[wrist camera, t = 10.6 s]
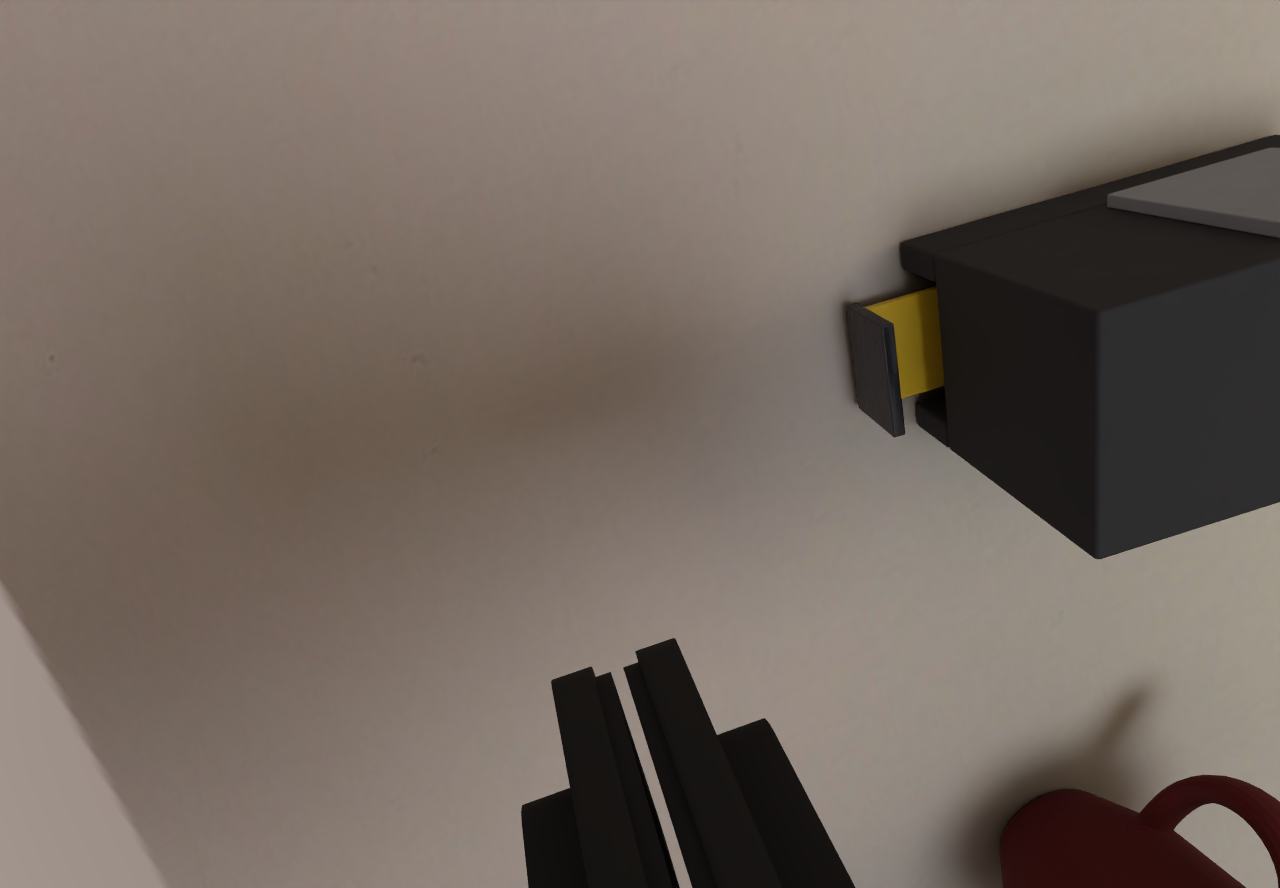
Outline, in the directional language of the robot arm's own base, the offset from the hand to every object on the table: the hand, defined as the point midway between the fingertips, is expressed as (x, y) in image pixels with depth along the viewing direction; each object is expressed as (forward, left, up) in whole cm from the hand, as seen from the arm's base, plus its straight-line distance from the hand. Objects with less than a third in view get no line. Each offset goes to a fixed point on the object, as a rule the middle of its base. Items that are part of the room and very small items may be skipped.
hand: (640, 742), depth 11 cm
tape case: (+14, 0, -10) cm, 17 cm away
